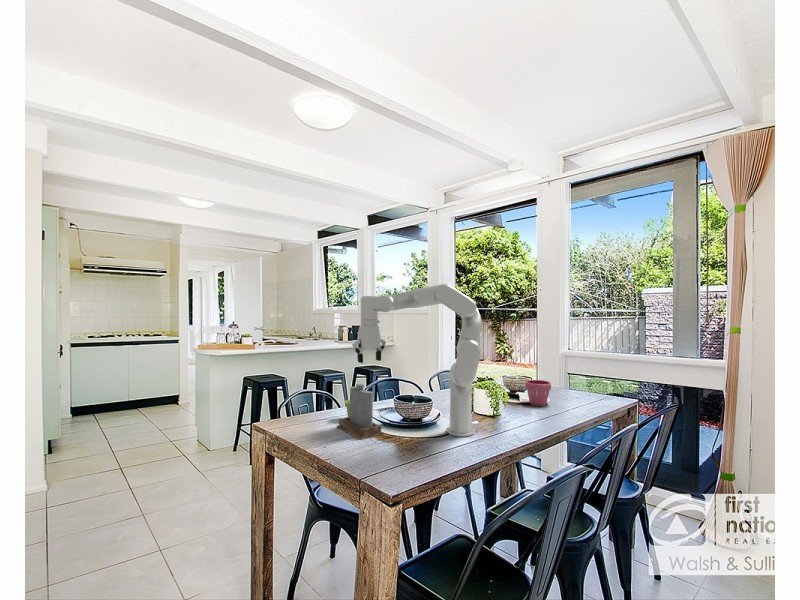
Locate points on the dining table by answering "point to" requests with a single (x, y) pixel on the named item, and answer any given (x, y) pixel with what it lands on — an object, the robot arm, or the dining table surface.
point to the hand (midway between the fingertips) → (369, 361)
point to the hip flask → (361, 406)
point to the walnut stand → (359, 429)
